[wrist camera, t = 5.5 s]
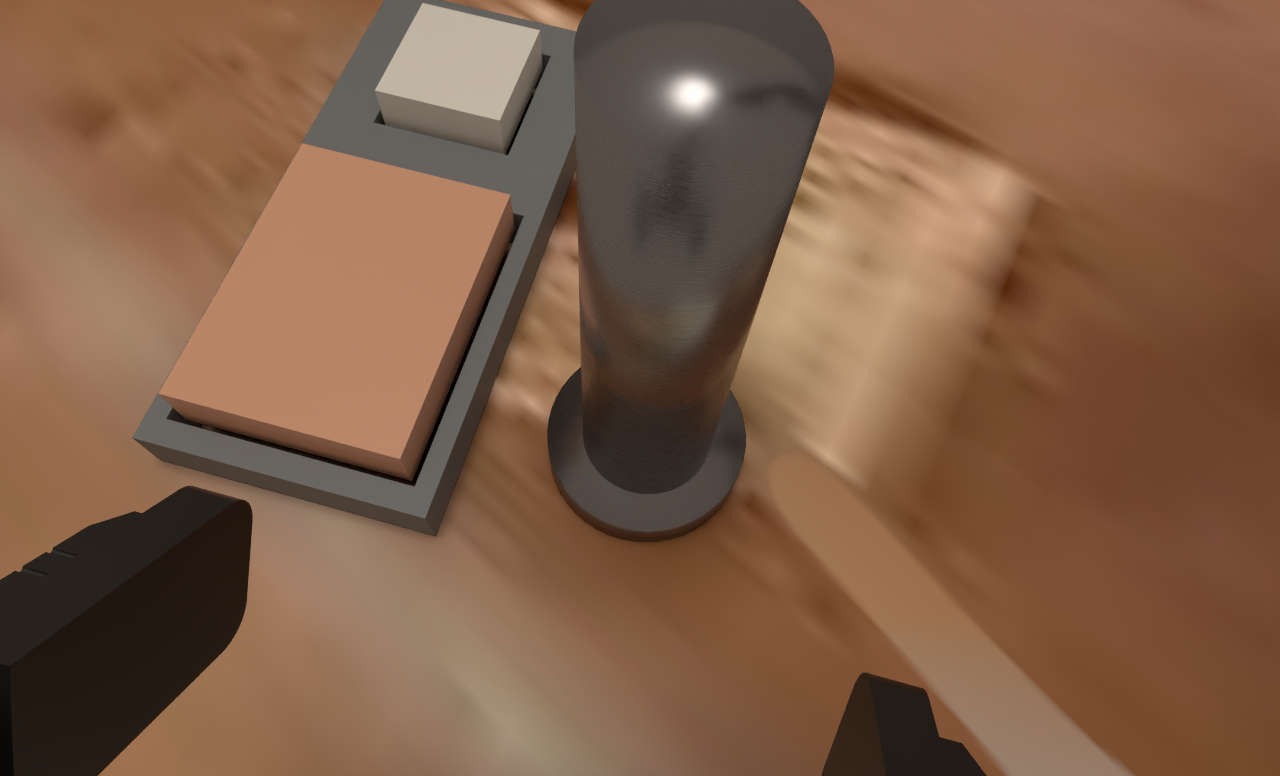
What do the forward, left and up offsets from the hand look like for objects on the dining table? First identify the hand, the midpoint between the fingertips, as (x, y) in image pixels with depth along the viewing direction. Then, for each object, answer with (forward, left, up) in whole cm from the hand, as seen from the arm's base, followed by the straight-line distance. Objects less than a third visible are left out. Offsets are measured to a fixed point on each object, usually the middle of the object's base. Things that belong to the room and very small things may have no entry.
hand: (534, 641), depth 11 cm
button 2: (+11, -22, -16) cm, 29 cm away
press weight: (0, -10, -17) cm, 20 cm away
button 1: (+11, -11, -16) cm, 22 cm away
